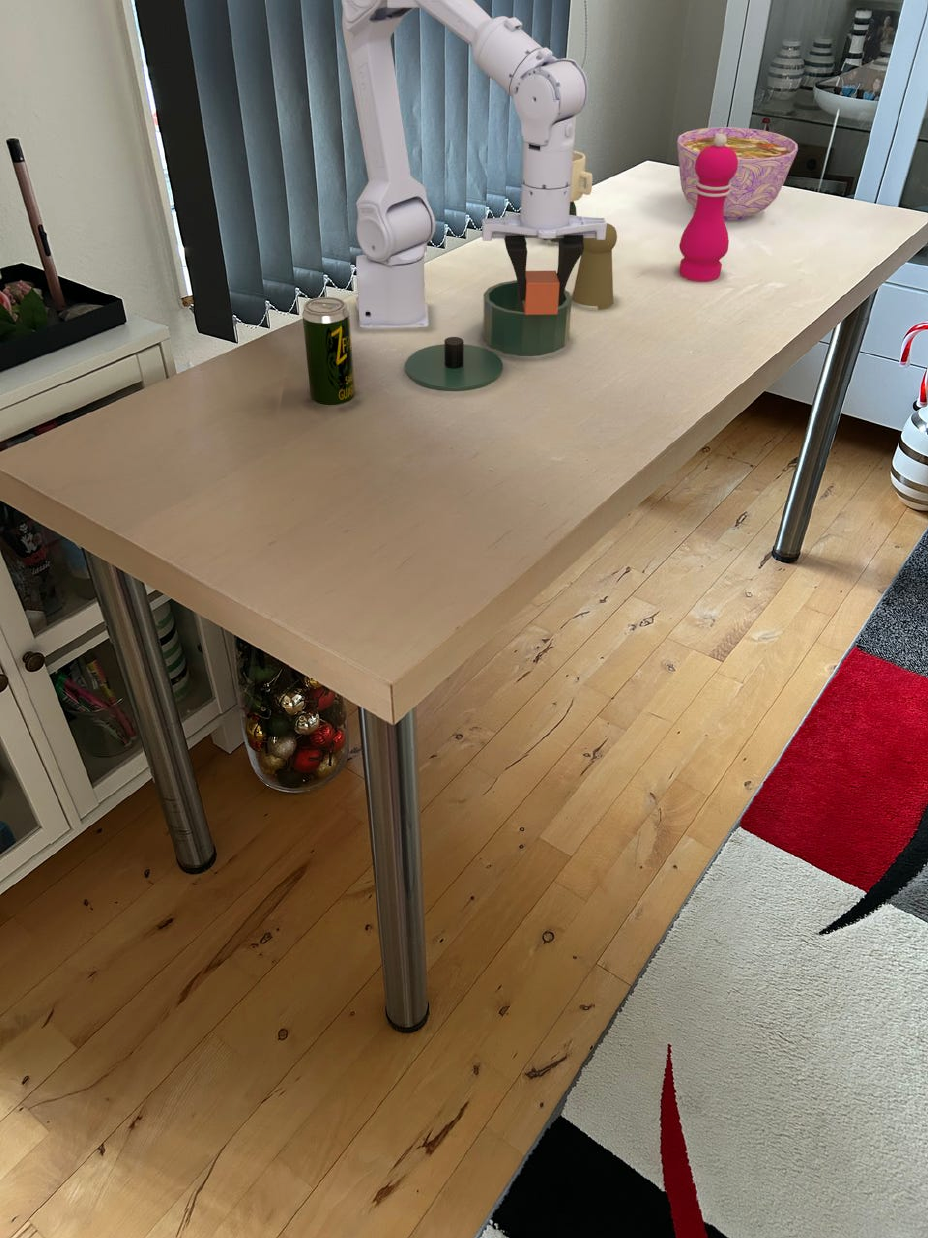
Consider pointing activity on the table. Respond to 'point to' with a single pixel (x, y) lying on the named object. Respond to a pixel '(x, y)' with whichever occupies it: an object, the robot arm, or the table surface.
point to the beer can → (328, 351)
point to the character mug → (578, 183)
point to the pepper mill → (708, 213)
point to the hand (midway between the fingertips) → (540, 297)
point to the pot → (522, 323)
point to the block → (541, 293)
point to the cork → (596, 272)
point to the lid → (453, 366)
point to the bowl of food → (740, 167)
